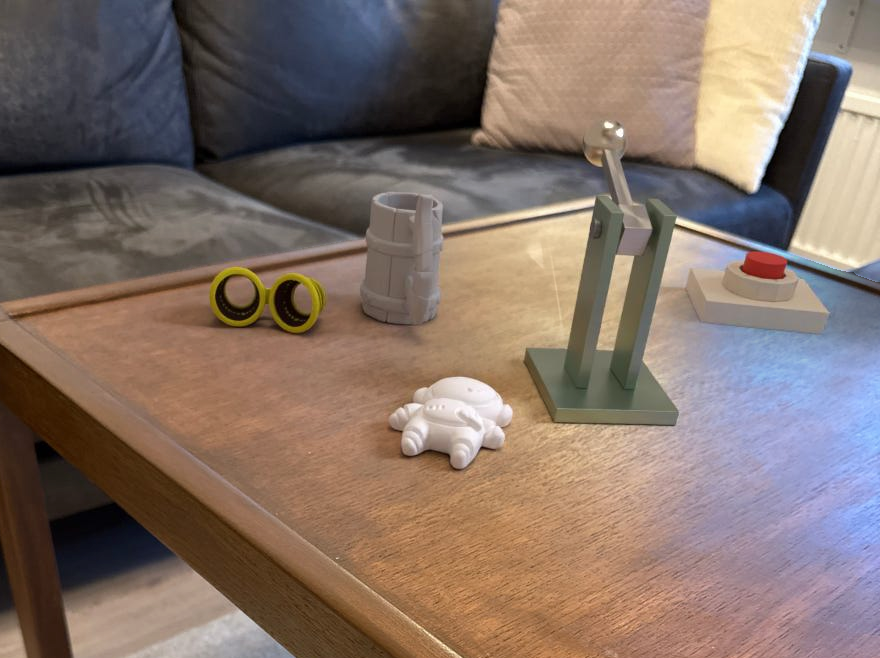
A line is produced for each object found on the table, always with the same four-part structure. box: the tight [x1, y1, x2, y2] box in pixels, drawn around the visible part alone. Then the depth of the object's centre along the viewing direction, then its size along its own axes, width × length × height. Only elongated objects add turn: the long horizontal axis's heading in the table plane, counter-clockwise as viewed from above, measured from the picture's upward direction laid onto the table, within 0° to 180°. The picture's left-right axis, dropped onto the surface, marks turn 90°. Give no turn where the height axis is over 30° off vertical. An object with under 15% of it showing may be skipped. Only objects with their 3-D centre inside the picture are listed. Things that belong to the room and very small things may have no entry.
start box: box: [684, 259, 830, 335], centre depth 100 cm, size 12×10×4 cm
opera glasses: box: [208, 266, 327, 334], centre depth 87 cm, size 10×5×5 cm, turn 85°
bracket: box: [523, 195, 680, 426], centre depth 78 cm, size 12×10×15 cm
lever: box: [582, 116, 653, 257], centre depth 77 cm, size 14×4×4 cm, turn 6°
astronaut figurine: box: [388, 376, 514, 470], centre depth 74 cm, size 9×12×3 cm
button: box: [742, 250, 788, 280], centre depth 98 cm, size 4×4×2 cm
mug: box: [359, 191, 445, 326], centre depth 88 cm, size 8×12×12 cm, turn 14°
